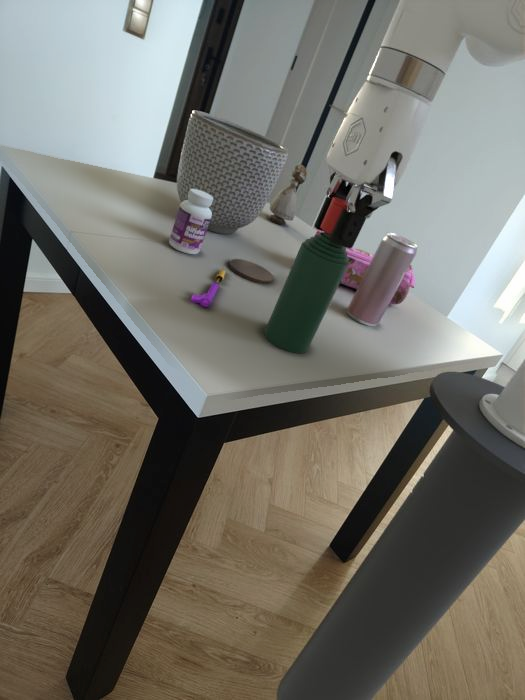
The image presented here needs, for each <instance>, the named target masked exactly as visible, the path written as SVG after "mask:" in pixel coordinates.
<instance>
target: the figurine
mask: <svg viewBox="0 0 525 700" xmlns="http://www.w3.org/2000/svg"><path fill="white" fill-rule="evenodd" d="M307 172H308V171H307V169H306V167H305V166H304V165H303V164H302V163H298V164H297V165H295V167H294V170H293V171H292V173H291V177H292V178H291V179H290V181H289V183H290V184H289V185H287V186H286V187H284V188H283V189H281V190H280V191H279V192H278V193H277V194H275V196H274V197H273V199H272V200H271V202H270V204H269V211H270V212H271V213H272V214H271V215H269V220H270V221H272V222H274V223H276V224H277V225H281V226H285V225H286V223H287V222H286V221H294V218H295V216H296V215H295V213H296V208H297V202H298V198H297V197H298V196H297V187H298V186H299V185H302V184H303V183H304V182H306V181H307Z"/></svg>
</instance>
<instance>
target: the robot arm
mask: <svg viewBox="0 0 525 700" xmlns="http://www.w3.org/2000/svg"><path fill="white" fill-rule="evenodd" d="M463 40H464V41H465V45H466V49H467V51H468V53H469V55H470V56H471V57H472V58H473V60H474V61H476V62H477V63H479V64H481V65H483V66H487V67H491V68H497V67H499V68H500V67H503V66H508V65H510V64H513V63H516V62H521V61H522V60H525V0H399V2H398V4H397V7H396V9H395V11H394V13H393V16H392V19H391V21H390V23H389V25H388V28H387V29H386V33H385V34H384V37H383V40H382V41H381V45H380V47H379V49H378V51H377V53H376V56H375V58H374V60H373V63H372V65H371V67H370V70H369V73H368V75H367V77H366V80H365V82H364V83H363V85H362V86H361V88H360V89H359V91H358V93H357V94H356V96H355V97H354V100H353V101H352V103H351V105H350V106H349V108H348V110H347V113H346V114H345V116H344V118H343V120H342V122H341V125H340V126H339V129H338V130H337V133H336V135H335V137H334V139H333V142H332V144H331V145H330V148H329V150H328V152H327V155H326V161H325V162H326V165H327V166H328V169H329V175H330V177H329V186H328V187H327V189H326V191H325V192H326V193H325V195H326V197H325V200H324V202H323V203H322V206H321V209H320V211H319V214H318V215H317V217H316V220H315V222H314V225H313V227H314V228H315V229H316V230H317V231H318V230H321V231H324V230H322V229H321V227H320V226H321V224H322V221H323V219H324V217H325V215H326V212H327V210H328V208H329V206H330V203H331V201H332V199H333V197H337V198H340V199H343V200H346V201H348V202H349V203H348V206H347V210H345V209H342V211H341V214H340V216H339V218H338V220H337V222H336V225H335V227H334V229H333V231H332V233H331V236H330V238H329V240H330V242H332V243H334V244H337V245H340V246H344V247H347V248H352V247H353V248H354V245H355V243H356V242H357V239H358V237H359V235H360V233H361V231H362V228H363V226H364V224H365V222H366V220H367V219H370V218H371V216H372V214H373V212H375V211H376V210H378V209H379V208H381V207H383V206H387V205H389V204H390V203H391V202H392V200H393V196H394V195H393V194H394V190H395V189H396V187H397V186H398V184H399V182H400V181H401V179H402V177H403V175H404V173H405V170H406V169H407V166H408V165H409V163H410V160H411V157H412V156H413V154H414V152H415V148H416V146H417V145H418V141H419V138H420V136H421V134H422V132H423V131H422V130H423V128H424V125H425V122H426V119H427V116H428V113H429V110H430V107H431V105H432V103H433V102H434V100H435V98H436V96H437V93H438V91H439V89H440V88H441V85H442V83H443V81H444V79H445V77H446V74H447V73H448V70H449V69H450V67H451V65H452V62H453V61H454V58H455V56H456V54H457V52H458V50H459V48H460V46H461V44H462V42H463ZM363 193H364V194H365V195H364V196H363V197H362V195H363ZM503 387H504V389H503V390H502V392H501V393H500V395H497V394H487V395H485V396H483V397H482V399H481V400H480V402H479V407H480V410H481V412H482V414H483V415H484V416H485V418H486V419H487V420H488V421H489V422H490V423H491V424H492V425H493V426H494V427H495V428H496V429H497V430H498V431H499V432H501V433H502V434H503V435H504V436H506V437H507V438H508V439H510V440H511V441H513V442H514V443H516V444H517V445H519V446H521V447H523V448H524V449H525V358H524V359H523V361H522V362H521V363H520V365H519V366H518V368H517V369H516V370H515V372H514V374H512V376H511V378H510V379H509V381H508V382H507V383H506V384H505V386H503Z"/></svg>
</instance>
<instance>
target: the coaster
mask: <svg viewBox="0 0 525 700" xmlns="http://www.w3.org/2000/svg"><path fill="white" fill-rule="evenodd" d="M229 268H230V269H231V270H232V272H234V273H235V274H236V275H238V276H240V277H242V278H243V279H246V280H248V281H251V282H254V283H257V284H263V285H269V284H272V283H273V282H274V280H275V279H274V278H275V277H274V275H273V273H271V272H270V271H269V270H268V269H267V268H265V267H264V266H262V265H259V264H258V263H256V262H252V261H249V260H245V259H240V258H234V259H231V260H230V261H229Z"/></svg>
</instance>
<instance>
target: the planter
mask: <svg viewBox="0 0 525 700" xmlns="http://www.w3.org/2000/svg"><path fill="white" fill-rule="evenodd" d="M289 152H290V151H289V149H288V148H287V147H285V146H284V145H283V144H282V143H279V142H277V141H275V140H273V139H271V138H269V137H267V136H265V135H263V134H261V133H258V132H256V131H255V130H252V129H250V128H247V127H245V126H242V125H240V124H238V123H235V122H232V121H230V120H227V119H225V118H223V117H220V116H217V115H214V114H211V113H207V112H204V111H201V110H197V109H196V110H195V109H194V110H192V111H191V113H190V116H189V119H188V123H187V127H186V131H185V135H184V139H183V145H182V148H181V153H180V158H179V163H178V168H177V174H176V192H177V195H178V198H179V201H180V203H182V202H183V201H185V200H188V193H189V191H190V189H197V190H200V191H203V192H205V193H207V194H209V195H211V196H212V197H213V201H212V205H211V206H210V207H209V209H210V210H211V212H212V217H211V220H210V223H209V226H208V229H207V231H210V232H213V233H216V234H220V235H233V234H234V233H236V232H237V230H239V229H242V228H244V227H247V226H248V225H250V224H251V223H253V222H254V221H255V220H256V219H257V218H258V217H259V215H260V214H261V213H262V211H263V209H264V208H265V206H266V205H267V202H268V201H269V198H270V196H271V194H272V192H273V190H274V189H275V186H276V184H277V181H278V179H279V177H280V175H281V174H282V173H281V172H282V170H283V168H284V166H285V164H286V162H287V160H288V155H289Z"/></svg>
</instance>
